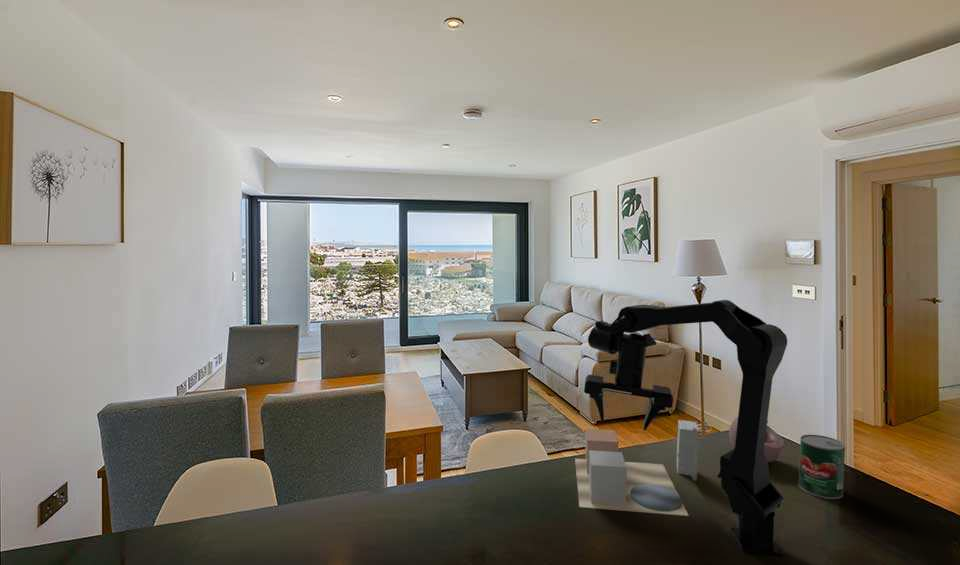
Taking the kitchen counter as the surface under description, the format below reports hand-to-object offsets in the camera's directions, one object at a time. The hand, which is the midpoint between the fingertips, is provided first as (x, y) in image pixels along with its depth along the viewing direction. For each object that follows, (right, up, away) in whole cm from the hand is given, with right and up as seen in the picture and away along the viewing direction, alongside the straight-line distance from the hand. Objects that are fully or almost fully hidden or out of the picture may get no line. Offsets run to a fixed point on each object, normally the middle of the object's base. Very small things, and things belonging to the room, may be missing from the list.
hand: (623, 425), depth 103 cm
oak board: (0, -13, -2) cm, 14 cm away
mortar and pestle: (+37, -12, +11) cm, 40 cm away
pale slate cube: (-6, -13, -7) cm, 15 cm away
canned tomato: (+43, -13, -4) cm, 45 cm away
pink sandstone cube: (-4, -12, +5) cm, 13 cm away
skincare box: (+16, -13, +4) cm, 21 cm away
